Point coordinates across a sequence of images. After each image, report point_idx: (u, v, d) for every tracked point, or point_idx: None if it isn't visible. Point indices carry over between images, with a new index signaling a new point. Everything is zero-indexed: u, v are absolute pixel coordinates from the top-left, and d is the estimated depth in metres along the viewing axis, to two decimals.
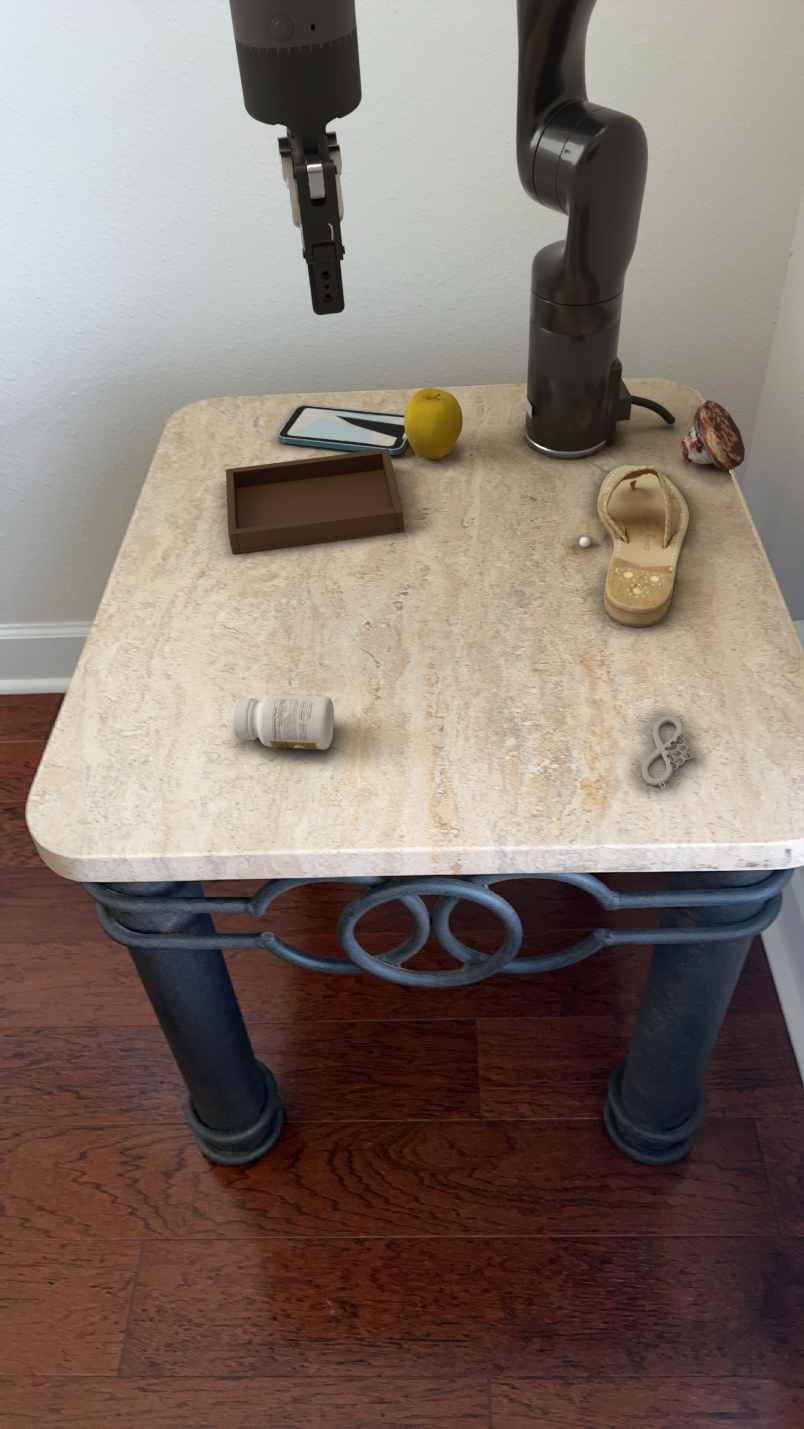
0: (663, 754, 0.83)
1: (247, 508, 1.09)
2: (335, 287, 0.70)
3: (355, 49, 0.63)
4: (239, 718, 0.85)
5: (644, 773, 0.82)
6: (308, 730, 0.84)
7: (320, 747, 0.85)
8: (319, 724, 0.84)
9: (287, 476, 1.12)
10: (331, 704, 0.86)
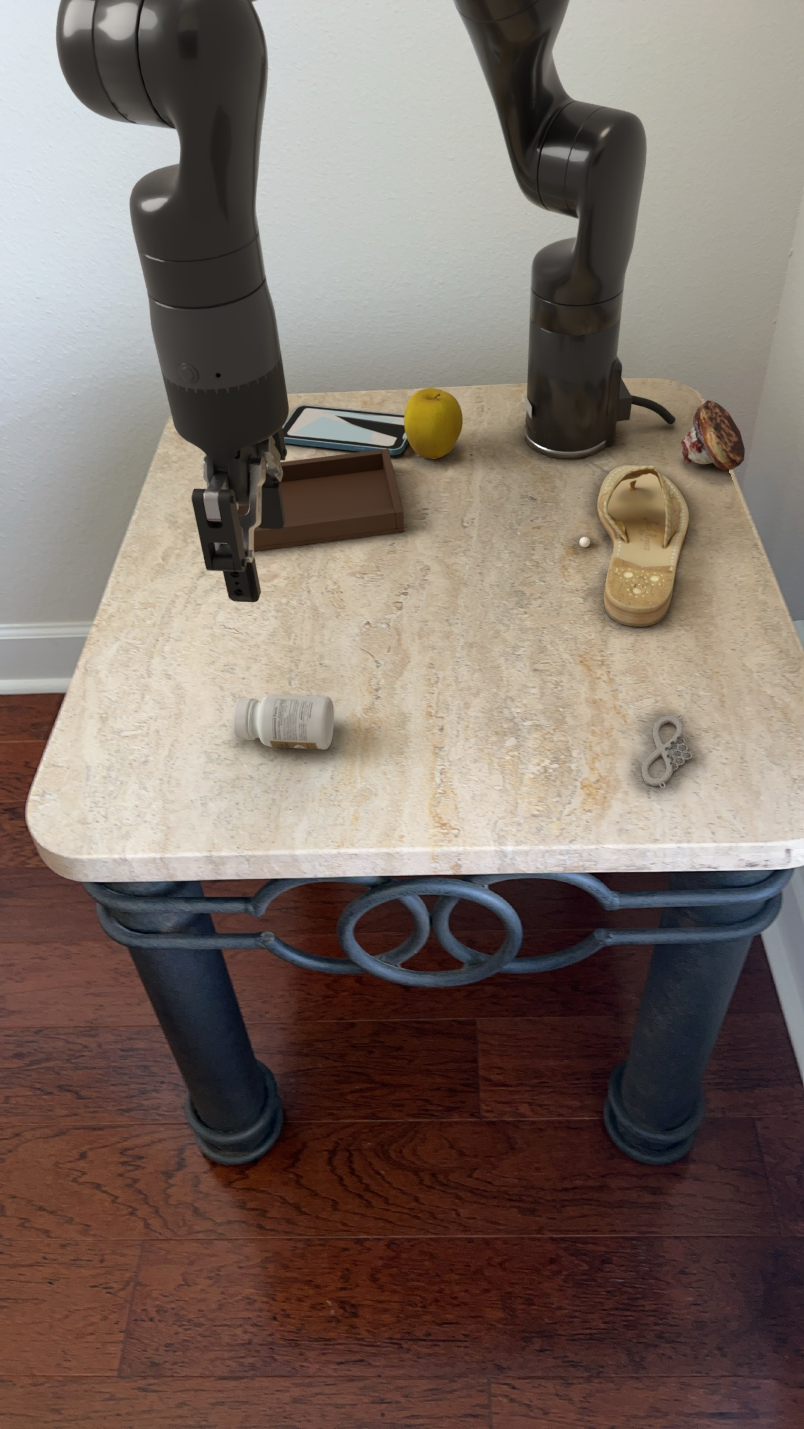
0: (663, 754, 0.84)
1: (247, 508, 1.09)
2: (245, 585, 0.71)
3: (272, 386, 0.64)
4: (239, 718, 0.85)
5: (644, 773, 0.83)
6: (308, 730, 0.84)
7: (320, 747, 0.85)
8: (319, 724, 0.84)
9: (287, 476, 1.12)
10: (331, 704, 0.86)
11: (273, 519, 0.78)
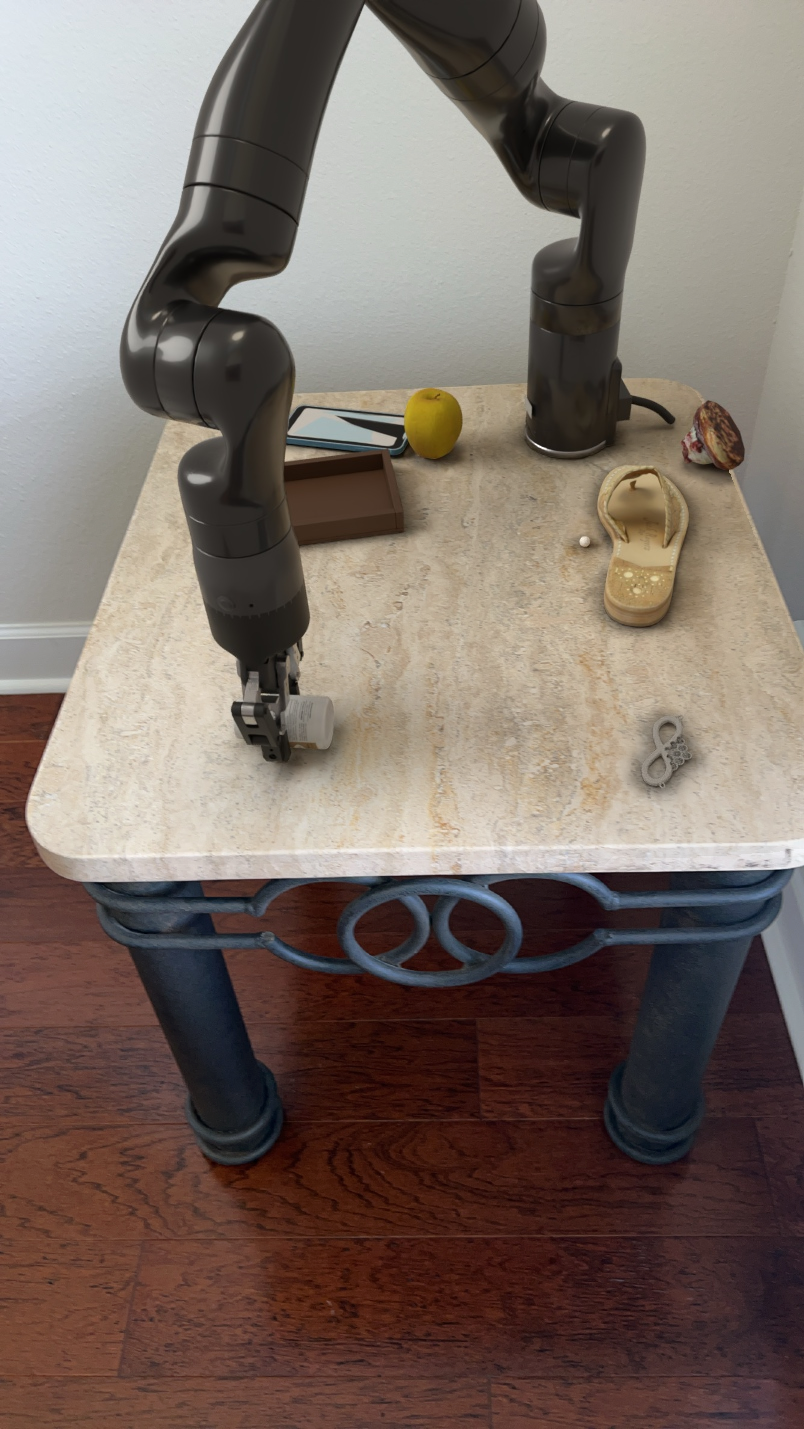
0: (663, 754, 0.84)
1: None
2: (278, 751, 0.84)
3: (296, 607, 0.75)
4: None
5: (644, 773, 0.83)
6: (308, 730, 0.84)
7: (320, 747, 0.85)
8: (320, 723, 0.84)
9: (287, 476, 1.12)
10: (331, 704, 0.86)
11: None
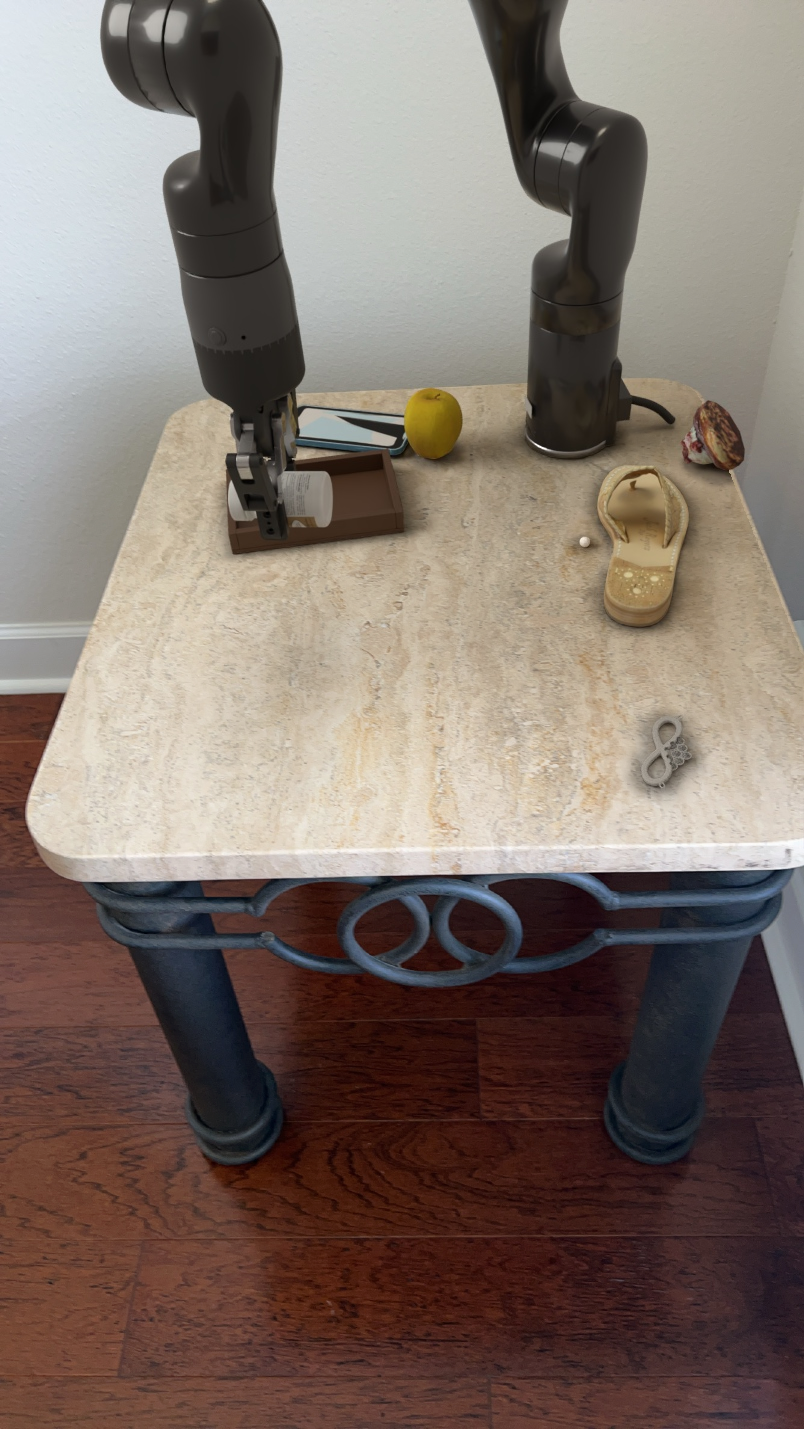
0: (663, 754, 0.84)
1: None
2: (276, 524, 0.81)
3: (291, 346, 0.72)
4: (234, 494, 0.82)
5: (644, 773, 0.83)
6: (306, 502, 0.81)
7: (319, 522, 0.82)
8: (318, 494, 0.81)
9: None
10: (329, 481, 0.83)
11: None
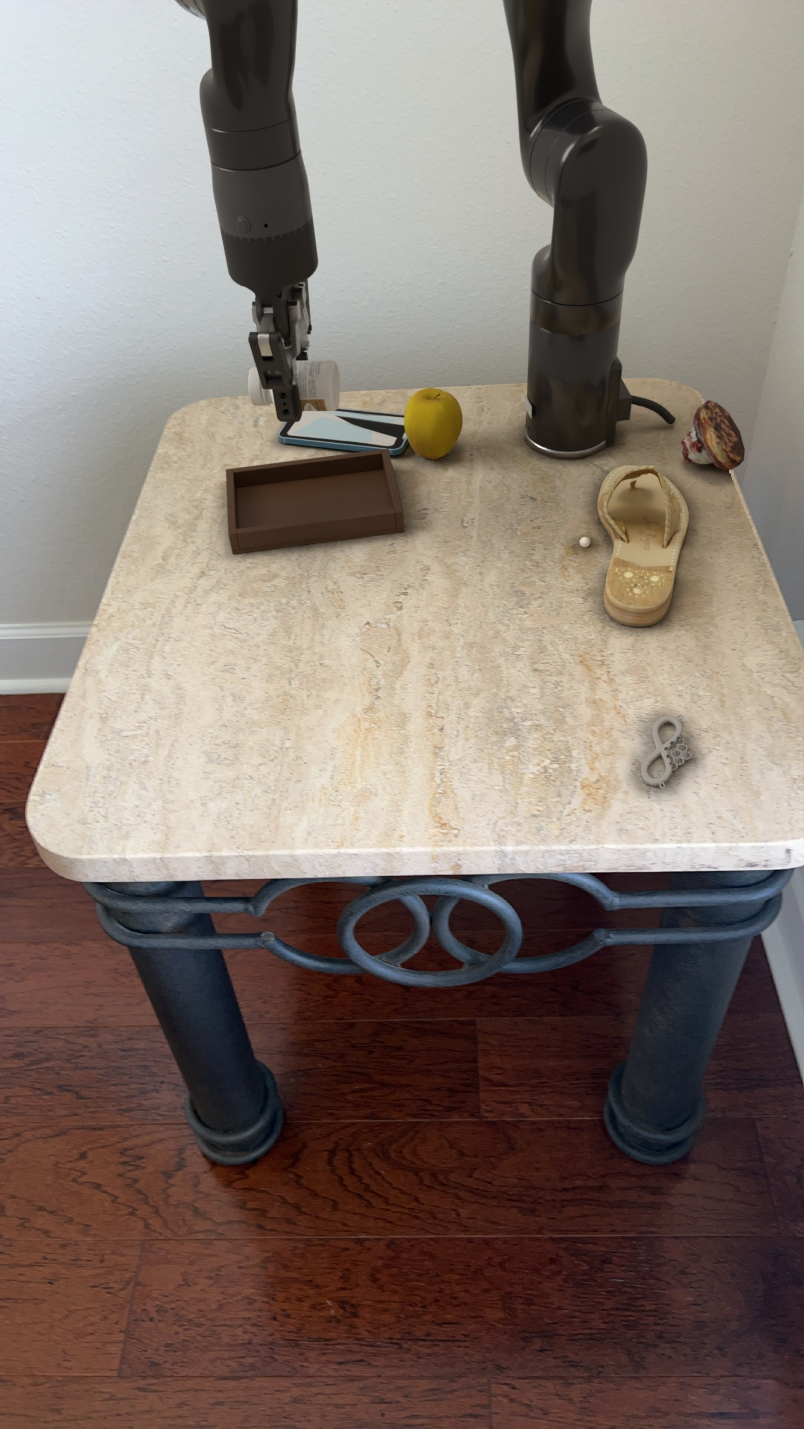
0: (663, 754, 0.84)
1: (247, 508, 1.09)
2: (290, 405, 0.92)
3: (306, 237, 0.83)
4: (254, 380, 0.93)
5: (644, 773, 0.83)
6: (317, 386, 0.92)
7: (328, 405, 0.93)
8: (327, 379, 0.92)
9: (287, 476, 1.12)
10: (337, 370, 0.94)
11: None
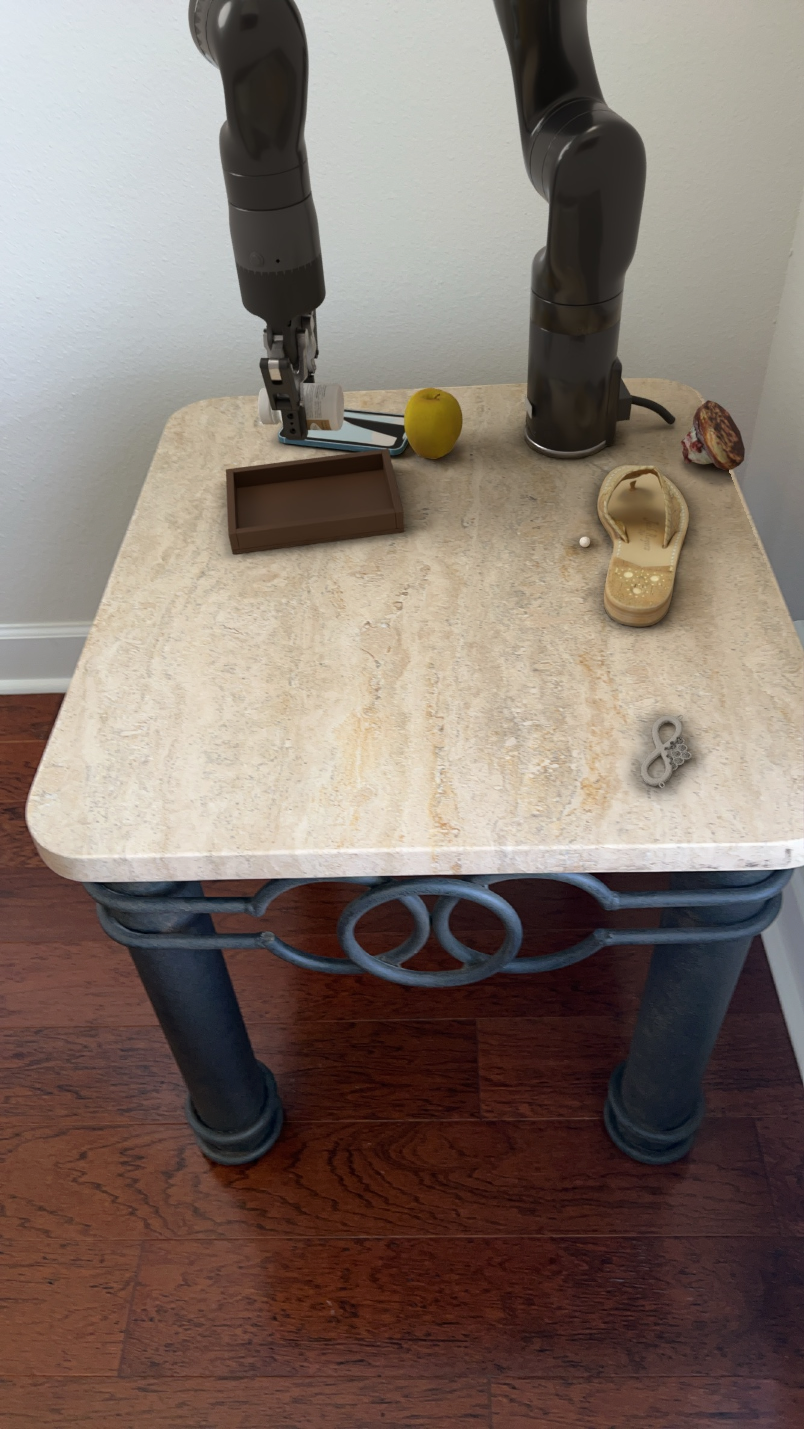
0: (662, 754, 0.83)
1: (247, 508, 1.09)
2: (297, 424, 0.98)
3: (315, 271, 0.89)
4: (263, 400, 0.99)
5: (643, 773, 0.82)
6: (322, 407, 0.98)
7: (332, 425, 0.99)
8: (332, 401, 0.98)
9: (287, 476, 1.12)
10: (342, 393, 1.01)
11: None
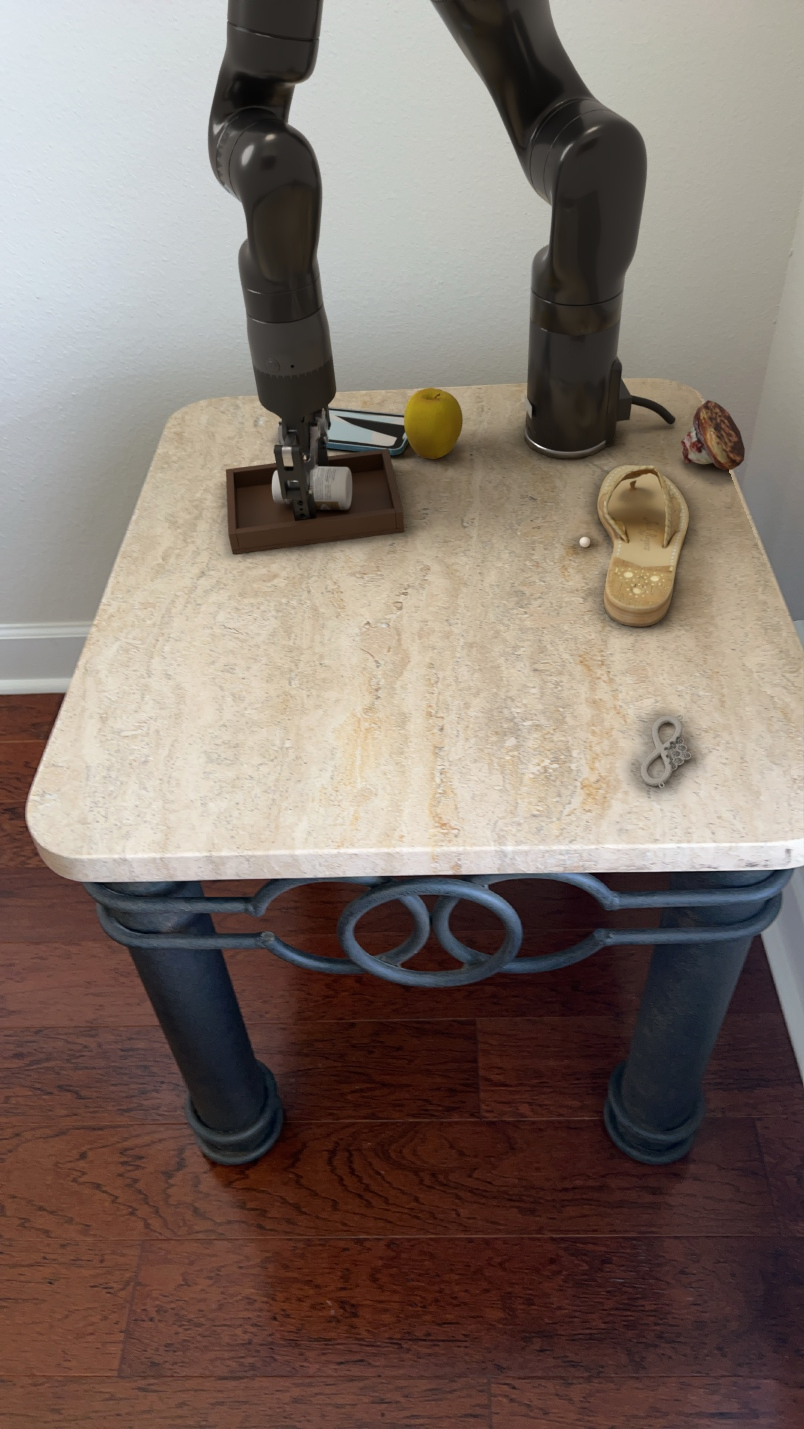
0: (662, 754, 0.84)
1: (247, 508, 1.09)
2: (307, 510, 1.04)
3: (326, 373, 0.96)
4: (277, 483, 1.06)
5: (643, 773, 0.83)
6: (332, 490, 1.05)
7: (341, 506, 1.06)
8: (341, 484, 1.05)
9: None
10: (350, 475, 1.08)
11: None
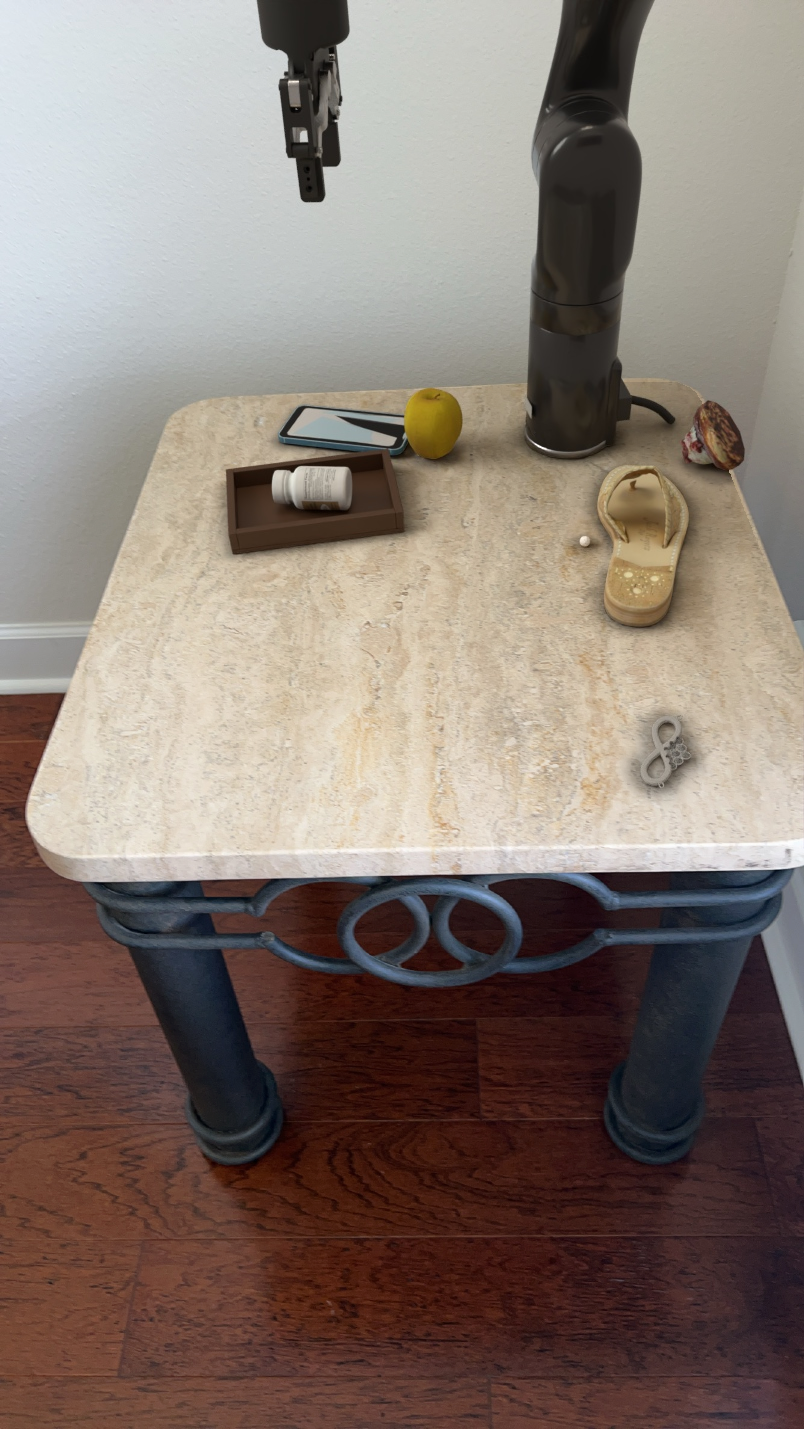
0: (662, 754, 0.84)
1: (247, 508, 1.09)
2: (314, 180, 0.92)
3: None
4: (277, 483, 1.06)
5: (643, 773, 0.83)
6: (332, 490, 1.05)
7: (341, 506, 1.06)
8: (341, 484, 1.05)
9: None
10: (350, 475, 1.08)
11: (331, 157, 0.99)
